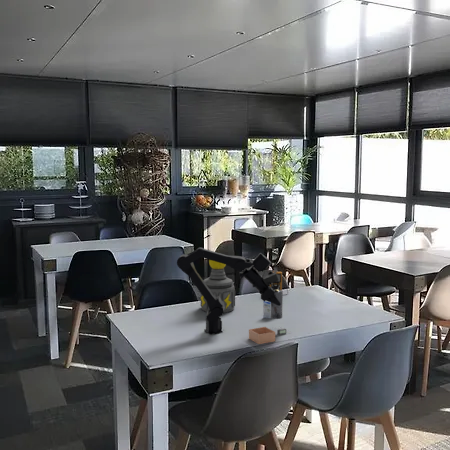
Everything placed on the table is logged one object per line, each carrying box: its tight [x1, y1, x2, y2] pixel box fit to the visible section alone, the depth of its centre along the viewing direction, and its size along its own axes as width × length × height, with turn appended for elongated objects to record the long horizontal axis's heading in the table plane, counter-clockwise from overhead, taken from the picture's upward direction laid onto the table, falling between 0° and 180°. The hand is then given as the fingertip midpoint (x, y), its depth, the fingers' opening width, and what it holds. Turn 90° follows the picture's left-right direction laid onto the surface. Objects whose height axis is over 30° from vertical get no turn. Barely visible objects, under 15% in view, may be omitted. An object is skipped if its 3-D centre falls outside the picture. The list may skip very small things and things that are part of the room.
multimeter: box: [263, 260, 289, 296], centre depth 293 cm, size 15×10×20 cm
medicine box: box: [262, 301, 272, 319], centre depth 247 cm, size 8×4×9 cm, turn 141°
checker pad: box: [269, 326, 293, 337], centre depth 223 cm, size 10×10×2 cm
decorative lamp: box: [200, 259, 236, 314], centre depth 262 cm, size 19×19×30 cm
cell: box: [270, 290, 284, 320], centre depth 221 cm, size 5×5×12 cm
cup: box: [248, 326, 276, 345], centre depth 211 cm, size 8×8×4 cm
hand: (279, 303), depth 221 cm, fingers closed on cell, 5 cm apart
